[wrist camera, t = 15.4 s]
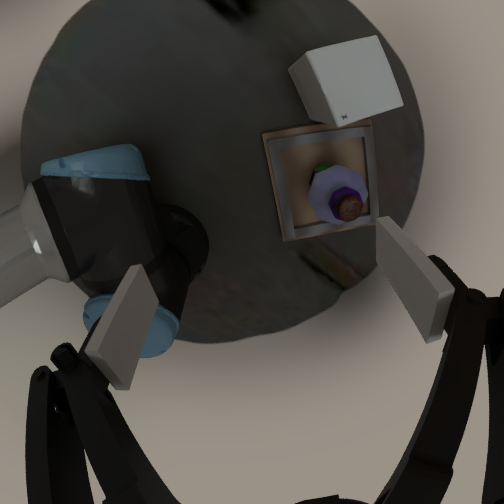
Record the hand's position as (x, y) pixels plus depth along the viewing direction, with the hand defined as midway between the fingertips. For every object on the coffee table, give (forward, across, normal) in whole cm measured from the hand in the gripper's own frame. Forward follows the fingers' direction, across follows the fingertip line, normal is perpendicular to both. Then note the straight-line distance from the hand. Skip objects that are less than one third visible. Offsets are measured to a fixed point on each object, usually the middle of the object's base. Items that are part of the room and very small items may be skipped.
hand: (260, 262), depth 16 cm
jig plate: (+32, +10, -6) cm, 34 cm away
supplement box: (+32, +13, +9) cm, 36 cm away
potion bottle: (+30, +10, -6) cm, 32 cm away
